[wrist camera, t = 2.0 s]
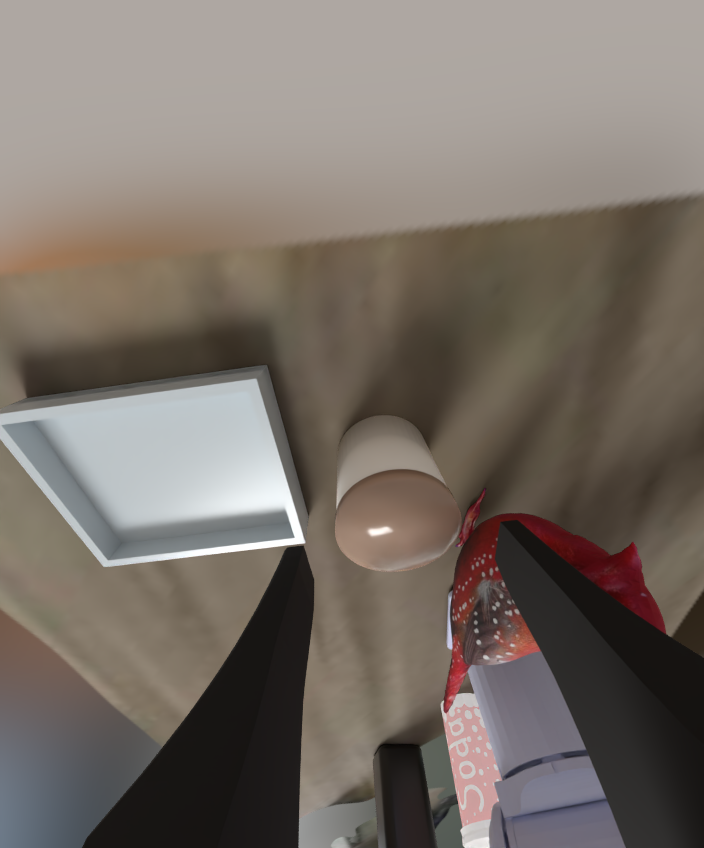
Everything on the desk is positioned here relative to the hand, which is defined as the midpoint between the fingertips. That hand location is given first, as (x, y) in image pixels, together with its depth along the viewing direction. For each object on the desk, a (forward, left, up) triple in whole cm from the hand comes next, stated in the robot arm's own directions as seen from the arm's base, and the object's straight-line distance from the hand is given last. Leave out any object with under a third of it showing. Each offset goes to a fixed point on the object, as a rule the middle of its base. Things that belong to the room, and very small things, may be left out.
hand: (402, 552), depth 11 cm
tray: (+11, -1, -7) cm, 13 cm away
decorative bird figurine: (-5, +8, -7) cm, 11 cm away
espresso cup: (0, 0, -7) cm, 7 cm away
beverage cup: (-6, +34, -7) cm, 35 cm away
